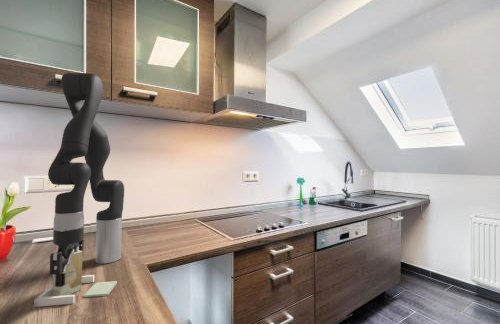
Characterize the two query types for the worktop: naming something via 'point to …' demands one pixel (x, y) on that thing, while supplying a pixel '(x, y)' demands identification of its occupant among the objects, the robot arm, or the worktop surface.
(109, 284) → the pad
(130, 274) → the worktop surface
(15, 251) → the worktop surface
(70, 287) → the skincare box
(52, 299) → the white frame
